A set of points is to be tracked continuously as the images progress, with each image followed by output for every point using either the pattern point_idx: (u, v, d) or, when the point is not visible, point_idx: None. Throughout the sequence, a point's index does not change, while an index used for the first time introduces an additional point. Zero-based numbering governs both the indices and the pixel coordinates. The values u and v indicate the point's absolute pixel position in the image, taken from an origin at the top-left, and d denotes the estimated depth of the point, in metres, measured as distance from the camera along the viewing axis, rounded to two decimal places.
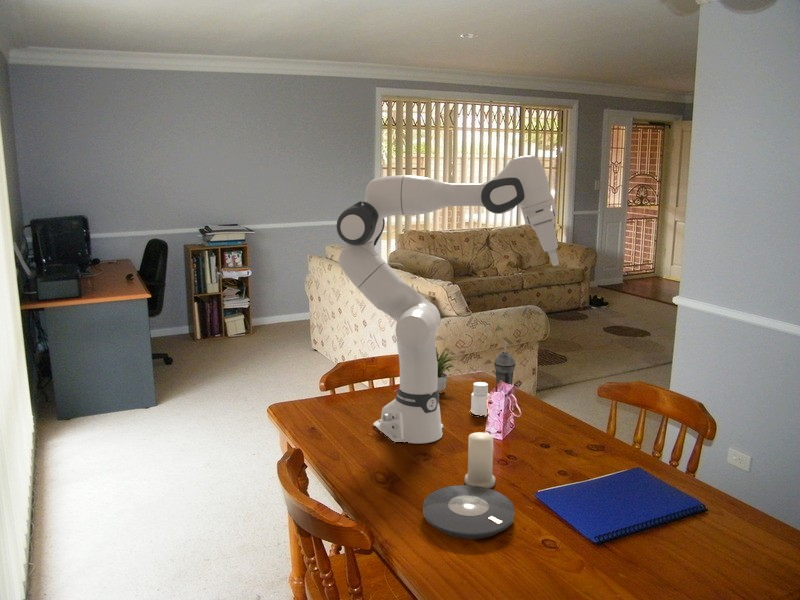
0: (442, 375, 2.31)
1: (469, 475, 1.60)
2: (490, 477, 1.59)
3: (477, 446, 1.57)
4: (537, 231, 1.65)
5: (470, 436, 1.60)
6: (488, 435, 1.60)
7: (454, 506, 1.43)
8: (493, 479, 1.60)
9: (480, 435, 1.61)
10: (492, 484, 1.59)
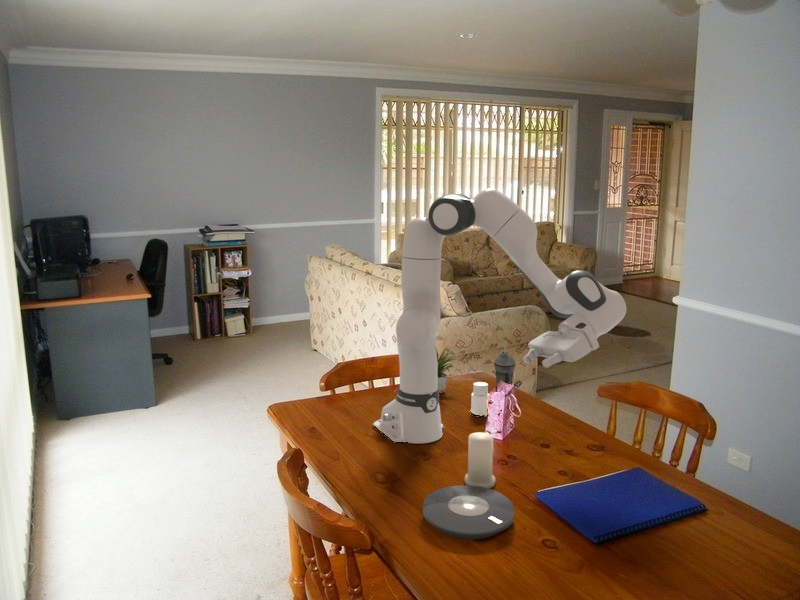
0: (442, 375, 2.31)
1: (469, 475, 1.60)
2: (490, 477, 1.59)
3: (477, 446, 1.57)
4: (582, 337, 1.59)
5: (470, 436, 1.60)
6: (488, 435, 1.60)
7: (454, 506, 1.43)
8: (493, 479, 1.60)
9: (480, 435, 1.61)
10: (492, 484, 1.59)
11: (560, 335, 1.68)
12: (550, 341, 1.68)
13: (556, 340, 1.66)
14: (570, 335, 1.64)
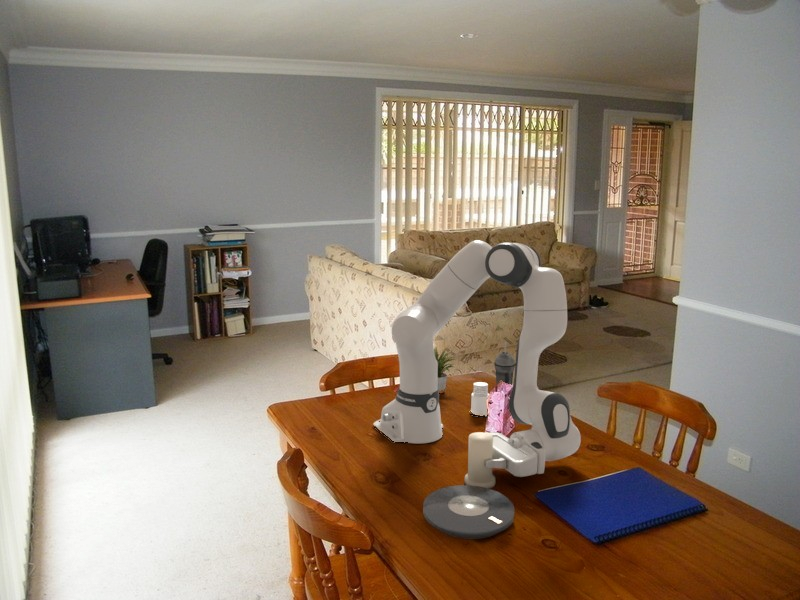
0: (442, 375, 2.31)
1: (469, 475, 1.60)
2: (490, 477, 1.59)
3: (477, 446, 1.57)
4: (535, 458, 1.55)
5: (470, 436, 1.60)
6: (488, 435, 1.60)
7: (454, 506, 1.43)
8: (493, 479, 1.60)
9: (480, 434, 1.61)
10: (492, 484, 1.59)
11: (511, 443, 1.64)
12: (500, 445, 1.63)
13: (506, 447, 1.62)
14: (522, 448, 1.61)
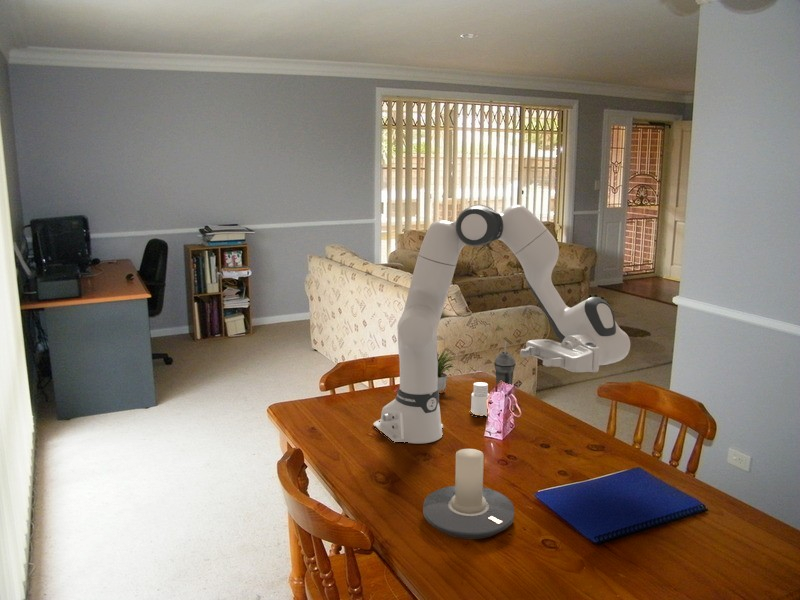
0: (442, 375, 2.31)
1: (457, 497, 1.42)
2: (480, 500, 1.41)
3: (465, 464, 1.39)
4: (590, 354, 1.59)
5: (457, 453, 1.41)
6: (478, 452, 1.42)
7: None
8: (483, 502, 1.42)
9: (469, 451, 1.42)
10: (482, 507, 1.41)
11: (564, 346, 1.68)
12: (554, 347, 1.67)
13: (560, 348, 1.66)
14: (576, 348, 1.64)
